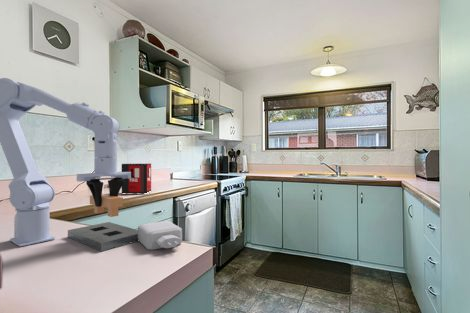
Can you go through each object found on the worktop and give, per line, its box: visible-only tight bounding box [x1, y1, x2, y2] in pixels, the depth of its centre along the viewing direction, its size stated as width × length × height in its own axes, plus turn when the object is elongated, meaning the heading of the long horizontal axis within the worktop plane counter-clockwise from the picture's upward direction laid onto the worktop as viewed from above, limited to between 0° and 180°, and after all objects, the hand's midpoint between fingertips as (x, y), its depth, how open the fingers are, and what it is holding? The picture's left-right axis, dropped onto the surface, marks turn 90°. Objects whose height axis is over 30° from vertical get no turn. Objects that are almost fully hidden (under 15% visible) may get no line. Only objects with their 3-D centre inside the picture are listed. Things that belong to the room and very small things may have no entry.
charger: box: [137, 220, 183, 251], centre depth 67 cm, size 5×9×15 cm
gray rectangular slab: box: [67, 221, 139, 252], centre depth 73 cm, size 20×12×2 cm, turn 53°
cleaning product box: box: [121, 163, 152, 194], centre depth 173 cm, size 16×9×20 cm, turn 90°
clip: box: [89, 193, 124, 218], centre depth 73 cm, size 12×4×5 cm, turn 53°
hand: (105, 205), depth 73 cm, fingers closed on clip, 3 cm apart
